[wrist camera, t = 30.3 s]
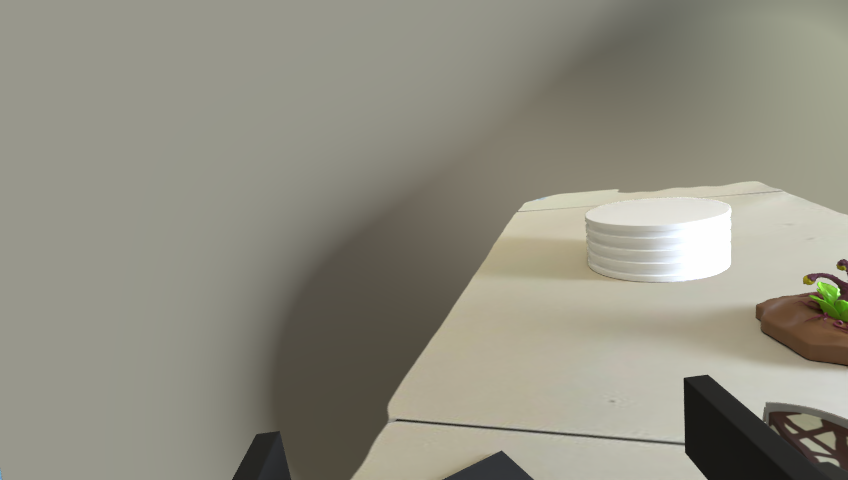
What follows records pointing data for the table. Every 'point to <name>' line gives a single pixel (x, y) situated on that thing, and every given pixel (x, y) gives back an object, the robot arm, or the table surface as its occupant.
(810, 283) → the plant
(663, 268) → the plate stack
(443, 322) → the table surface
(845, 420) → the food container
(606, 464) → the table surface
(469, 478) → the desk mat
